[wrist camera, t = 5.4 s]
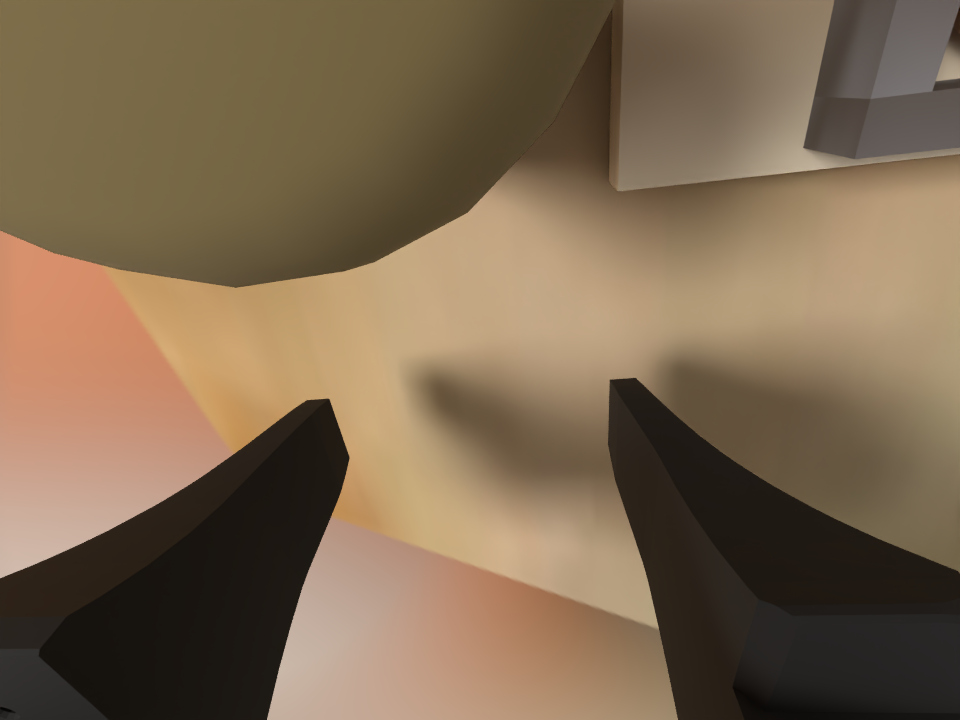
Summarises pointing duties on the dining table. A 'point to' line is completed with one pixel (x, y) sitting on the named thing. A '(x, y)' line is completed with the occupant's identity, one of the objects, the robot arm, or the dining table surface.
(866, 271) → the dining table surface
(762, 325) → the dining table surface
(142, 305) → the dining table surface
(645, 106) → the tray
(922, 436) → the dining table surface
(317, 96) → the cork
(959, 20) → the button
